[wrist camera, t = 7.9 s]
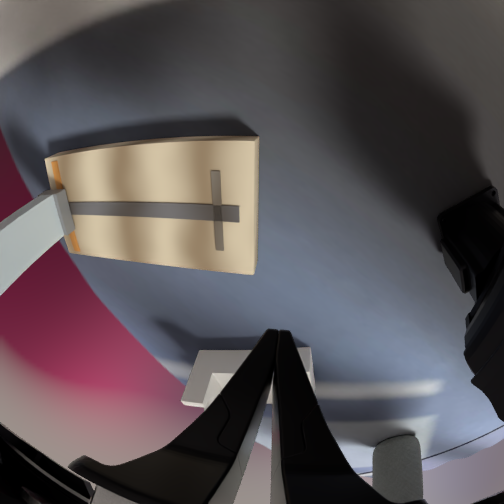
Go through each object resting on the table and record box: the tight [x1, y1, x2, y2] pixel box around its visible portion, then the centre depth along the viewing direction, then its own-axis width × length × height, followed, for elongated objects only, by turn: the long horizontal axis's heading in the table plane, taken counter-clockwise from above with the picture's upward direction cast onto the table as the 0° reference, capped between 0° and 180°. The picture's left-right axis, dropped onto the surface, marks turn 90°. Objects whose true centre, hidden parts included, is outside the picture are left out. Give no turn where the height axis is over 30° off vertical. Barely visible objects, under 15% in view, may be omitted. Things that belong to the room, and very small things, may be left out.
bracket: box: [181, 347, 315, 411], centre depth 28 cm, size 13×7×8 cm, turn 104°
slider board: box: [45, 136, 259, 275], centre depth 21 cm, size 19×10×2 cm, turn 90°
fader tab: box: [0, 189, 75, 295], centre depth 16 cm, size 3×4×10 cm
